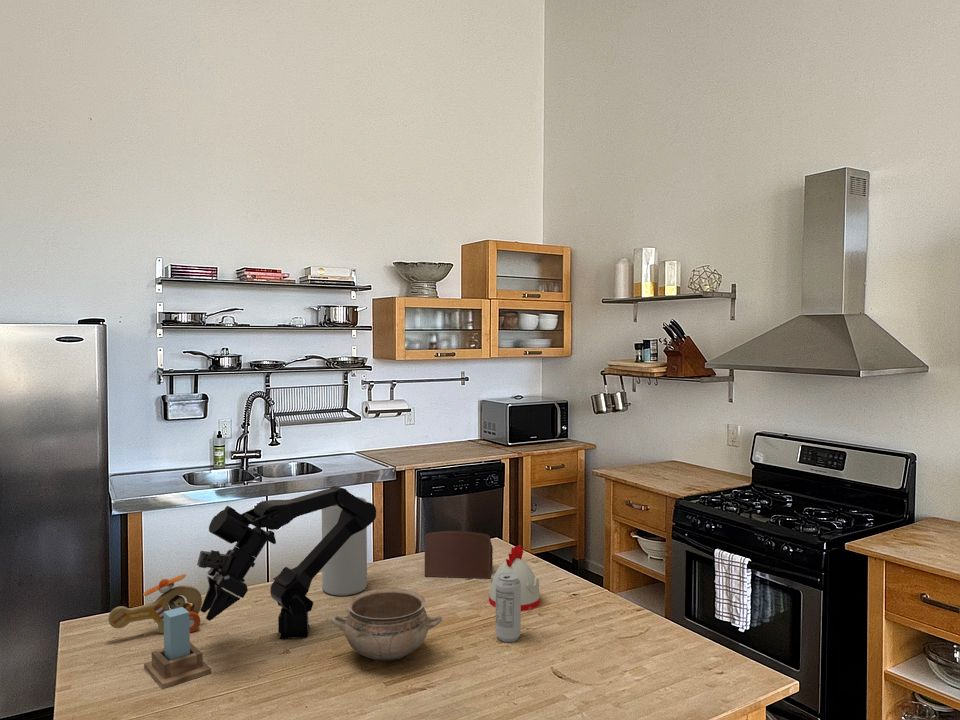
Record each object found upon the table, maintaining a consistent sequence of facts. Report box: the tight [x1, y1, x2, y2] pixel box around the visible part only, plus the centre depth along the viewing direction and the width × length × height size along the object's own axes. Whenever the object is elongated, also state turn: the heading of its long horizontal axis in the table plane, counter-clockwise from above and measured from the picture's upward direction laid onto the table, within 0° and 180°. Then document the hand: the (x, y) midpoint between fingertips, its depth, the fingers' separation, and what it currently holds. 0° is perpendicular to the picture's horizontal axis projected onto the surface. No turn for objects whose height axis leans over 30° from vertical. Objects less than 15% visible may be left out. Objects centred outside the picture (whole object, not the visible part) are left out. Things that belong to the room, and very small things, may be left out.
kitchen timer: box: [488, 544, 541, 612], centre depth 194 cm, size 14×14×15 cm
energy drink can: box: [495, 573, 522, 643], centre depth 172 cm, size 6×6×15 cm
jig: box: [143, 641, 212, 690], centre depth 155 cm, size 10×12×4 cm
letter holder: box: [423, 530, 494, 580], centre depth 216 cm, size 10×20×14 cm, turn 85°
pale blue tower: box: [163, 607, 191, 661], centre depth 155 cm, size 4×4×12 cm
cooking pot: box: [331, 588, 443, 663], centre depth 162 cm, size 25×19×12 cm
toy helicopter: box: [108, 573, 203, 634], centre depth 173 cm, size 8×21×14 cm, turn 122°
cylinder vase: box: [321, 496, 368, 597], centre depth 203 cm, size 12×12×25 cm
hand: (204, 615), depth 160 cm, fingers open, 9 cm apart
